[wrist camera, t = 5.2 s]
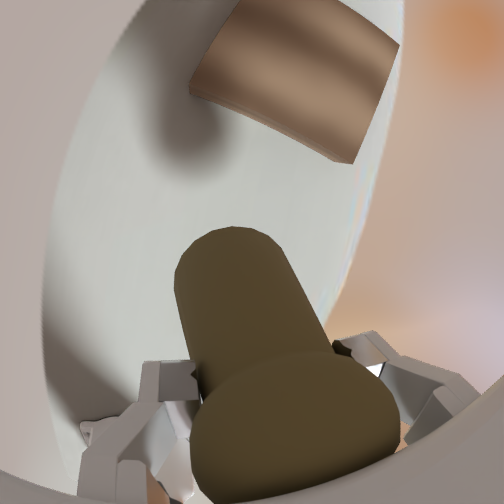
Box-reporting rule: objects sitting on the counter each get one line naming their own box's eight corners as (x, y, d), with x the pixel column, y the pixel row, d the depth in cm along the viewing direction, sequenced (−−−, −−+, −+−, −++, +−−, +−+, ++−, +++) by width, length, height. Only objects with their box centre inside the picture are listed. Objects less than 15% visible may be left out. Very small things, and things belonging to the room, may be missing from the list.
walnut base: (334, 162, 22) (352, 164, 19) (189, 93, 18) (188, 83, 15) (380, 52, 18) (399, 45, 16) (259, -18, 14) (267, -35, 12)
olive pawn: (245, 200, 13) (435, 364, 2) (309, 287, 15) (442, 443, 5) (148, 279, 13) (114, 514, 3) (224, 349, 15) (277, 533, 5)
